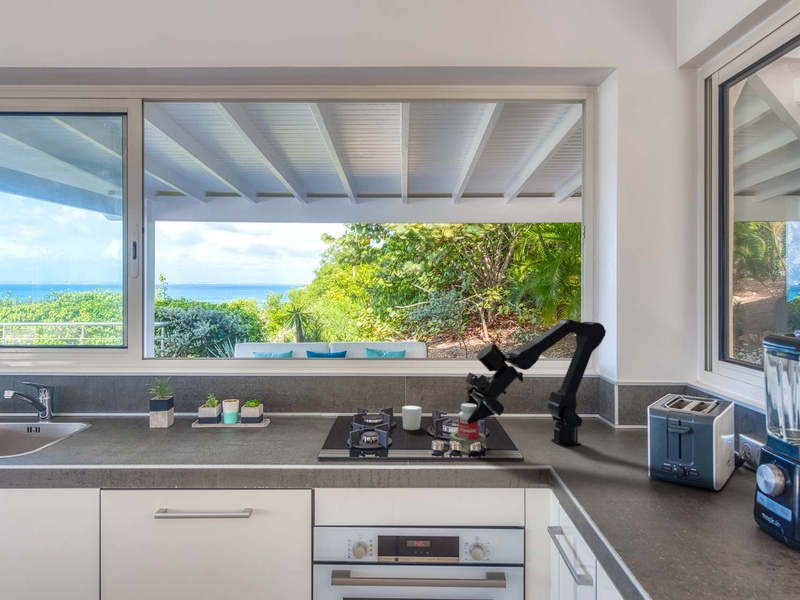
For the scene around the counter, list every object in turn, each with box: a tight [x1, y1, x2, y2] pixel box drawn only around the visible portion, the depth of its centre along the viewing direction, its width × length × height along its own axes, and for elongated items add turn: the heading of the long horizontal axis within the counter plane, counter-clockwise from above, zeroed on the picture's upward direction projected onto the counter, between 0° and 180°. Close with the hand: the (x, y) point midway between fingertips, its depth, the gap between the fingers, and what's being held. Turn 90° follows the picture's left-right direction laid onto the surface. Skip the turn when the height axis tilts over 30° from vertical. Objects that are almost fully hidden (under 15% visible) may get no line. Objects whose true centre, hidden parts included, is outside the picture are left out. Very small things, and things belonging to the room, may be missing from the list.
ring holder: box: [449, 430, 487, 452], centre depth 148 cm, size 11×11×4 cm
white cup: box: [401, 404, 423, 431], centre depth 169 cm, size 7×7×7 cm
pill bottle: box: [457, 402, 480, 440], centre depth 148 cm, size 6×6×11 cm
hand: (464, 419), depth 148 cm, fingers closed on pill bottle, 6 cm apart
